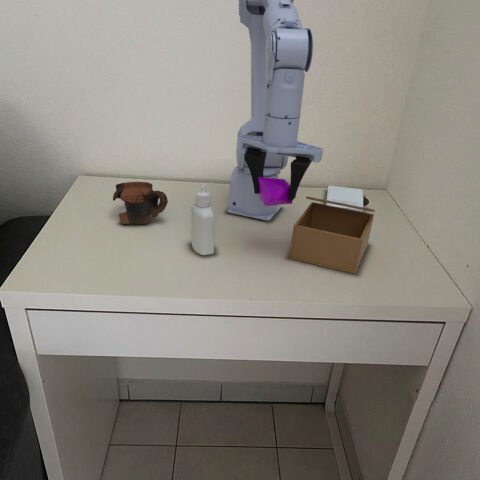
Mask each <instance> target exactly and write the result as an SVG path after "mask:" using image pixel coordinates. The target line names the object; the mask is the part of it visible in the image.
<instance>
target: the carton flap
mask: <svg viewBox="0 0 480 480" xmlns="http://www.w3.org/2000/svg"><path fill="white" fill-rule="evenodd" d="M305 199H307V200H310V201H315V202H321V203H324V204H326V203H330V204H335V205H340V206H345V207H350V208H355V209H360V210H363V211H366V212H371V213H375V211H376V209H373V208H370V207H369V208H368V207H364V206H363V207H359V206H354V205H349V204H343V203H338V202H333V201H328V200H326V199H323V198H317V197H312V196H308V195H307V196H305Z"/></svg>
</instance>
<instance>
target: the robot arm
mask: <svg viewBox="0 0 480 480" xmlns="http://www.w3.org/2000/svg"><path fill="white" fill-rule="evenodd" d="M294 1H295V0H238V16H239V22H240V23H241V24H242V25H244V26H245V27H246V28H247V29H248V36H249V41H250V119H249V120H247V121H246V122H245V123H243V124H242V125H241V126H240V127H239V129H238V131H237V137H236V141H237V142H236V152H235V153H236V154H235V155H236V165H237V166H235V167H234V168H233V170H232V172H231V175H230V179H229V194H228V196H229V197H228V209H227V210H226V211H227V213H229V214H232V215H239V216H242V217H246V218H250V219H251V218H252V219H257V220H262V221H264V222H265V221H266V222H269V221H271V220H272V219H273V217H274V216H275V215H276V214H277V213H278V212H279V210H281V208H282V207H281V205H271V206H265V205H264V204H263V202H262V201H261V199H260V197H259V185H258V177H265V178H279V175H281V170H284V169H286V167H287V165H288V162H289V157H291V158H295V159H293V160H292V161H291V162H290V183H289V185H290V189H289V195H288V200H289V201H292V202H293V201H294V200H295V199H296V196H297V193H298V189H299V187H300V184H301V182H302V180H303V178H304V176H305V174H306V172H307V170H308V168H309V167H310V166H311V164H312V162H314V163H317V164H318V163H320V162H321V161H322V160H323V153H324V147H320V146H315V145H312V144H308V143H305V142H302V141H299V140H298V137H299V130H300V120H301V111H302V103H303V96H304V86H305V77H306V73H307V72H309V70H310V68H311V65H312V61H313V54H314V35H313V31H312V29H311V28H310V27H303V25H302V22H301V19H300V16H299V15H300V14H299V12H298V9H297V7H296V6H295V5H294Z"/></svg>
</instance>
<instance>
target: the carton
mask: <svg viewBox="0 0 480 480" xmlns="http://www.w3.org/2000/svg"><path fill="white" fill-rule="evenodd" d="M374 217H375V214H374V213H370V212H365V211H363V212H360V211H355V210H350V209H345V208H340V207H335V206H329V205H326V204H325V203H319V202H314V201H311V202H310V204H309V205H308V206H307V207H306V208H305V210H304V212H303V213H302V214H301V215H300V217H299V218H298V219H297V221H295V223H294V224H293V229H292V230H293V231H292V235H291V244H290V253H289V259H290V260H295V261H299V262H302V263H307V264H312V265H316V266H320V267H325V268H329V269H333V270H337V271H341V272H345V273H349V274H353V275H355V274H356V273H357V270H358V268H359V265H360V264H361V261H362V259H363V257H364V254H365V253H366V250H367V247H368V244H369V240H370V235H371V230H372V226H373V222H374Z"/></svg>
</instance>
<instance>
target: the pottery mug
mask: <svg viewBox="0 0 480 480" xmlns="http://www.w3.org/2000/svg"><path fill="white" fill-rule="evenodd" d="M117 199H119V200H121V201H122V202H124V206H125V210H126V211H123V212H119V214H118V218H119V221H120V225H129V224H130V225H131V224H135V225H149V224H150V219H151V216H152V218H154V219H155V218H157V217H158V215H159V214H161V213H162V212H164V211H165V209H166V208H167V206H168V202H169V201H168V196H167V194H166V193H165V192H164V191H161V190H154V189H153V184H152V183H151V182H148V181H126V182H121V183H117V184H115V192H113V196H112V201H113V202H115V201H116V200H117Z"/></svg>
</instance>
